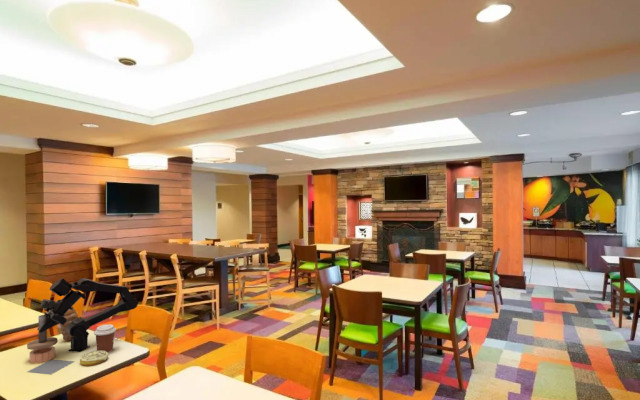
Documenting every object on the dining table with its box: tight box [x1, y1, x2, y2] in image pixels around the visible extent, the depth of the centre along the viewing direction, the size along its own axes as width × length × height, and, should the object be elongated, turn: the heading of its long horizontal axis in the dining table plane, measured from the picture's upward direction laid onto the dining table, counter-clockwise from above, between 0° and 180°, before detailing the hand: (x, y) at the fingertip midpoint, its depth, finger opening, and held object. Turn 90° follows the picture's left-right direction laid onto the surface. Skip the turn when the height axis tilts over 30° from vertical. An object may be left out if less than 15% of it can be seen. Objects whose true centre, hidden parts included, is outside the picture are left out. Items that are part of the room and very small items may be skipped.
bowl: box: [29, 345, 56, 364], centre depth 162 cm, size 9×9×4 cm
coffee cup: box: [93, 324, 117, 354], centre depth 171 cm, size 9×9×12 cm
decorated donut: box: [79, 350, 109, 367], centre depth 160 cm, size 10×11×4 cm
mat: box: [26, 358, 75, 375], centre depth 155 cm, size 12×12×1 cm
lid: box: [26, 314, 59, 351], centre depth 162 cm, size 11×11×13 cm
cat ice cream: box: [59, 306, 79, 342], centre depth 183 cm, size 9×8×18 cm
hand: (38, 331), depth 161 cm, fingers closed on lid, 3 cm apart
